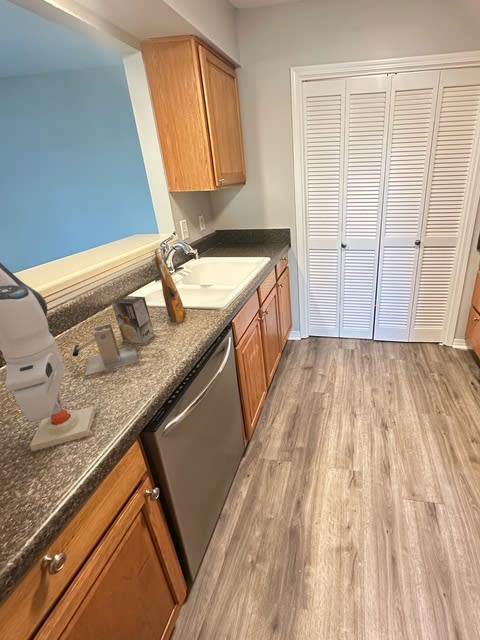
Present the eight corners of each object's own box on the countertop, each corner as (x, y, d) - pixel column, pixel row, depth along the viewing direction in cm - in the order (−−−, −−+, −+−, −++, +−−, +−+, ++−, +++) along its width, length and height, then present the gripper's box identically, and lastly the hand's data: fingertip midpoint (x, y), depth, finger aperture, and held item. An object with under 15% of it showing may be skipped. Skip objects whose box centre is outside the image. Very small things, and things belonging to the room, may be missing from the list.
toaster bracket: (86, 379, 96) (72, 341, 91) (90, 361, 105) (77, 326, 100) (137, 365, 102) (127, 329, 97) (136, 349, 111) (127, 316, 106)
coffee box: (156, 336, 119) (146, 296, 112) (144, 345, 113) (133, 303, 107) (135, 335, 121) (123, 295, 115) (122, 343, 115) (110, 302, 109)
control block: (32, 451, 72) (26, 440, 70) (44, 424, 79) (39, 413, 78) (88, 436, 75) (83, 424, 74) (95, 411, 83) (91, 400, 81)
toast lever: (76, 358, 96) (69, 353, 95) (78, 351, 100) (72, 345, 99) (110, 336, 98) (104, 330, 97) (111, 329, 102) (105, 324, 101)
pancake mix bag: (165, 328, 125) (147, 258, 114) (169, 309, 142) (154, 246, 131) (183, 325, 126) (168, 255, 115) (185, 307, 143) (172, 244, 132)
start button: (51, 426, 74) (48, 420, 73) (55, 417, 77) (52, 411, 76) (67, 422, 75) (65, 416, 74) (71, 413, 78) (68, 407, 77)
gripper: (29, 342, 77) (50, 389, 82) (2, 389, 60) (30, 445, 65) (60, 335, 79) (78, 381, 85) (43, 379, 62) (67, 433, 68)
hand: (57, 409), depth 75 cm, fingers closed
